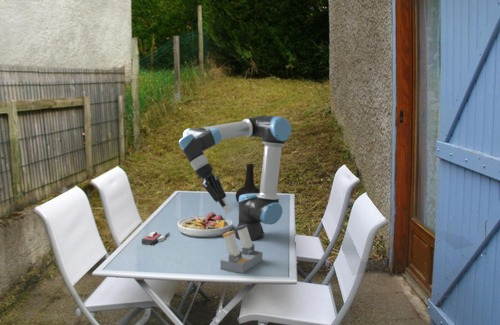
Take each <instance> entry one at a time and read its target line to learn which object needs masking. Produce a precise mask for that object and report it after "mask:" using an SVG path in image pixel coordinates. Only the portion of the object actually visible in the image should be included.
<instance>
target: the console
mask: <svg viewBox="0 0 500 325" xmlns="http://www.w3.org/2000/svg"><path fill="white" fill-rule="evenodd" d="M252 245H253V246H252V247H253V249H252V250H250V251H248V248H245V247H243V248H239V251H240V257H238V258H236V259H235V256H234V255H229V254H228V255H227V256H225V257H223V258H222V259H220V270H224V271H228V272H229V271H230V272H234V273H239V274H244V273H245V272H247V271H248V270H249V269H251V268H253V267H255V266H256V265H257V264H259V263H261V262H262V261H263V251H259V250H255V243H252Z"/></svg>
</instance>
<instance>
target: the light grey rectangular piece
mask: <svg viewBox="0 0 500 325" xmlns="http://www.w3.org/2000/svg"><path fill="white" fill-rule="evenodd" d="M236 230H237V231H238V234H239V238H240V239H239V240H240V241H239V242H240V243H241V246H242V248H243V247H245V248H248V251H250V250H252V249H253V247H252V246H253V245H252V244H253V242H252V240H251V239H250V236H249V232H248V229H247V224H245V225H241V226H239V227H236V228H235V231H236Z"/></svg>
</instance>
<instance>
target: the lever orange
mask: <svg viewBox="0 0 500 325" xmlns="http://www.w3.org/2000/svg"><path fill="white" fill-rule="evenodd" d="M222 238H223V239H224V241H225V244H226V245H225V246H226V248H227V251H228V256H229V255H234V256H235V259H236V258H238V257H240V251H239V249H240V248H239V245H238V242H237V238H236V237H235V230H230V231H229V232H227V233H225V234H223V235H222Z"/></svg>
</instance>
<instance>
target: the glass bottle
mask: <svg viewBox="0 0 500 325" xmlns="http://www.w3.org/2000/svg"><path fill="white" fill-rule="evenodd" d="M245 167H246V170H245V171H246V174H245V180H244V184H243V186H241V187H240V188H238V189H237V191H236V192H235V200H236V203H238V202H239V196H240V195H243V194H250V193H260V188H259V187H257V186H255V180H254V179H255V178H254V168H255V166H254V164H253V163H246V166H245Z"/></svg>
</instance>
